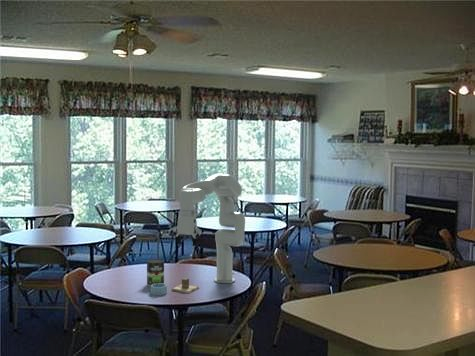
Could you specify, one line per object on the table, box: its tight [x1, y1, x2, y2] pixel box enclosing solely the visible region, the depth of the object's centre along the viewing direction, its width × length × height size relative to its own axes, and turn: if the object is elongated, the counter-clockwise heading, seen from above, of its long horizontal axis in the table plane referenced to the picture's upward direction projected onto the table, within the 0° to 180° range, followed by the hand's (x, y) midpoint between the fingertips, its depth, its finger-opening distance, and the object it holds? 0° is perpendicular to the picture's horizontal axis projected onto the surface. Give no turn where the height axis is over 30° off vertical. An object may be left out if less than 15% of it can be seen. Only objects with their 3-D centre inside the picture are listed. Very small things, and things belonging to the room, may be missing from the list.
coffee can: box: [146, 258, 165, 287], centre depth 334 cm, size 10×10×14 cm
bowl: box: [150, 283, 168, 296], centre depth 315 cm, size 9×9×4 cm
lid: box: [171, 277, 200, 294], centre depth 322 cm, size 11×11×6 cm
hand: (186, 244), depth 302 cm, fingers open, 9 cm apart
